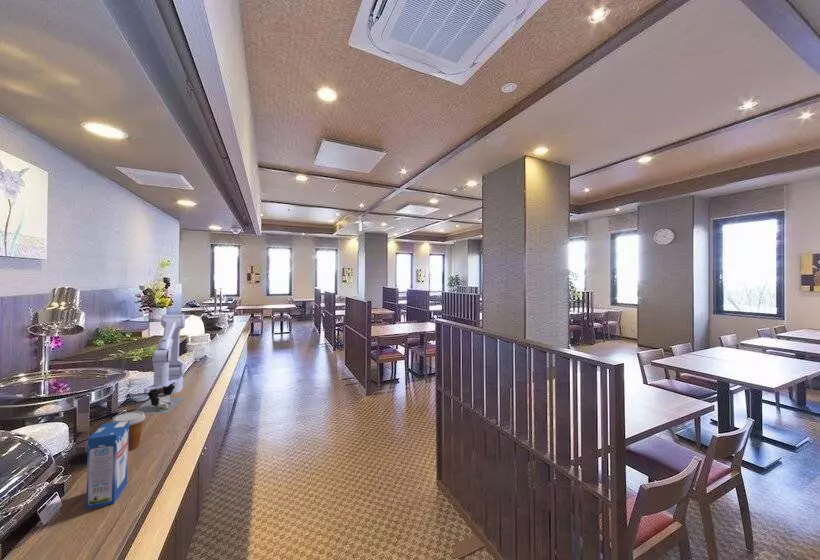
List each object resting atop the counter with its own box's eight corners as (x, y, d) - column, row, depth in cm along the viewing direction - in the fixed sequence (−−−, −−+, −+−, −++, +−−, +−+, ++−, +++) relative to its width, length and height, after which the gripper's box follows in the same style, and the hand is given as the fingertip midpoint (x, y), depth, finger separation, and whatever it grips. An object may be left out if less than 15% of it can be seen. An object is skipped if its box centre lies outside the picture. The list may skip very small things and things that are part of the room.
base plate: (149, 401, 168) (150, 391, 168) (185, 399, 173) (185, 390, 173) (127, 417, 149) (128, 406, 149) (168, 415, 153) (169, 404, 153)
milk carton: (101, 488, 102) (103, 423, 101) (127, 483, 104) (129, 420, 104) (85, 509, 92) (87, 438, 92) (114, 504, 95) (116, 434, 95)
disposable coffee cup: (129, 454, 120) (130, 422, 120) (104, 453, 120) (105, 420, 120) (150, 441, 129) (151, 411, 129) (127, 440, 130) (128, 410, 130)
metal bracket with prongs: (150, 405, 156) (151, 396, 156) (161, 401, 161) (161, 393, 161) (164, 407, 154) (164, 399, 154) (174, 403, 159) (175, 395, 159)
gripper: (152, 380, 150) (151, 409, 150) (181, 371, 164) (181, 398, 164) (140, 378, 152) (139, 407, 152) (170, 370, 166) (170, 397, 166)
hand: (160, 403), depth 158 cm, fingers closed on metal bracket with prongs, 5 cm apart
